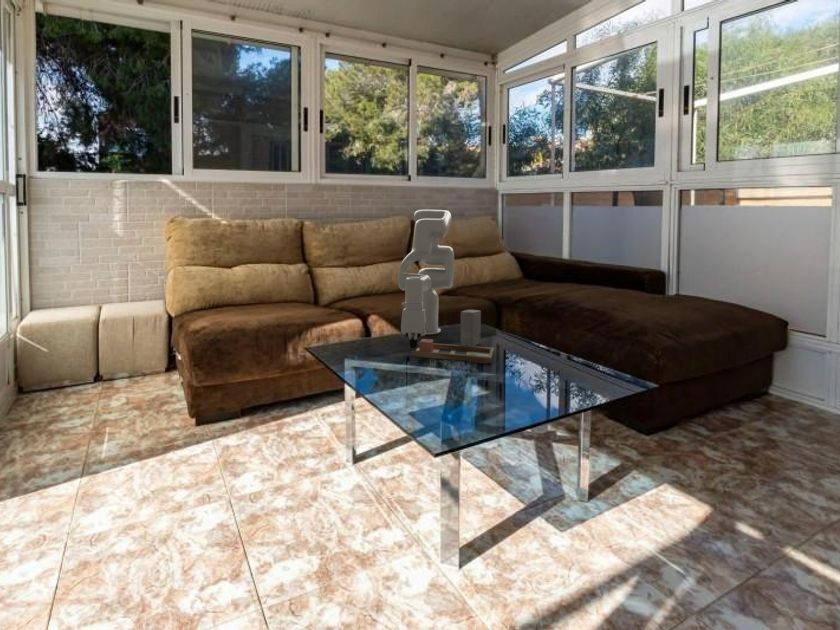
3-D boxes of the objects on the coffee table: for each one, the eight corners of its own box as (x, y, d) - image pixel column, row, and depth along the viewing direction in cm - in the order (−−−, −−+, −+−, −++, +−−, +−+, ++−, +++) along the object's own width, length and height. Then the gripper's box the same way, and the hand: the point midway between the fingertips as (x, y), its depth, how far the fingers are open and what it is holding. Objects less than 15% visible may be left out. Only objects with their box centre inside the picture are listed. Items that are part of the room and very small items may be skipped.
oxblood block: (421, 350, 241) (422, 338, 240) (433, 350, 240) (433, 339, 239) (419, 353, 237) (419, 341, 236) (431, 354, 236) (431, 342, 235)
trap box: (418, 347, 247) (418, 342, 246) (493, 353, 240) (494, 347, 240) (411, 357, 232) (411, 351, 232) (490, 363, 226) (491, 357, 225)
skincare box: (472, 347, 248) (473, 313, 245) (458, 345, 252) (459, 311, 249) (481, 343, 255) (482, 310, 252) (467, 341, 259) (468, 308, 256)
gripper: (394, 306, 233) (394, 348, 237) (429, 308, 230) (428, 351, 234) (399, 303, 240) (398, 344, 245) (433, 305, 237) (432, 346, 241)
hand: (413, 347), depth 239 cm, fingers closed
